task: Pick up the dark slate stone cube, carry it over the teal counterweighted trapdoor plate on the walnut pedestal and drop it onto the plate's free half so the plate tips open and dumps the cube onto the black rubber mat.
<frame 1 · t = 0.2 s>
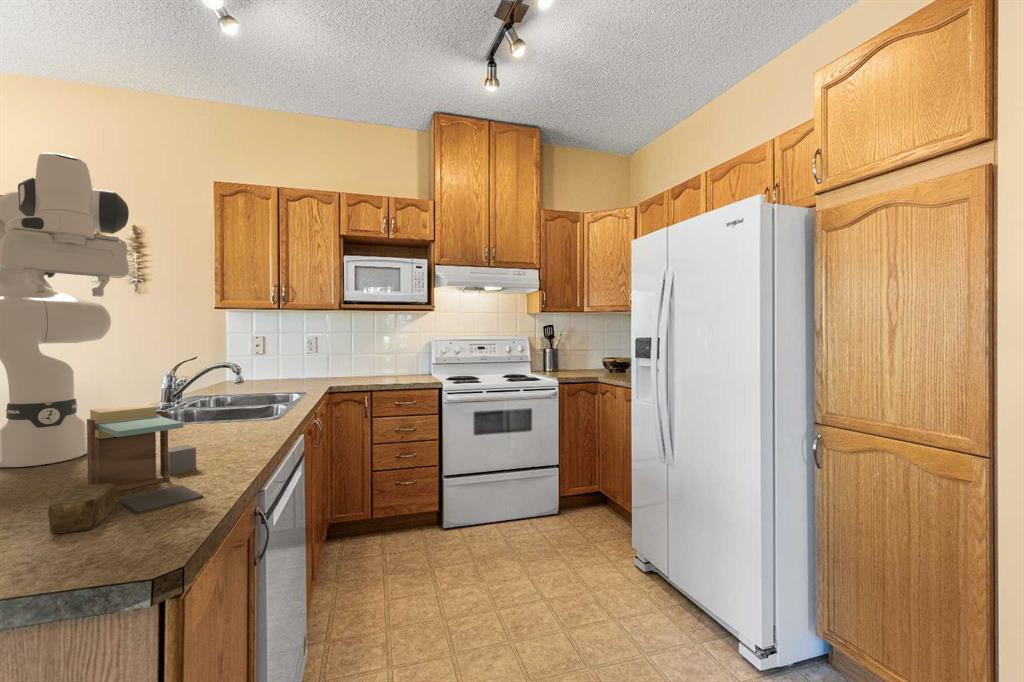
hand: (69, 294, 100), 39 cm above the counter, tool pointing down, fingers open, 8 cm apart
rubber mat: (161, 499, 87), on the counter
stone cube: (178, 470, 106), on the counter
stone block: (84, 522, 77), on the counter
trapdoor: (134, 423, 92), point 13 cm above the counter, hinge at 0.0°
trapdoor frame: (130, 487, 94), on the counter
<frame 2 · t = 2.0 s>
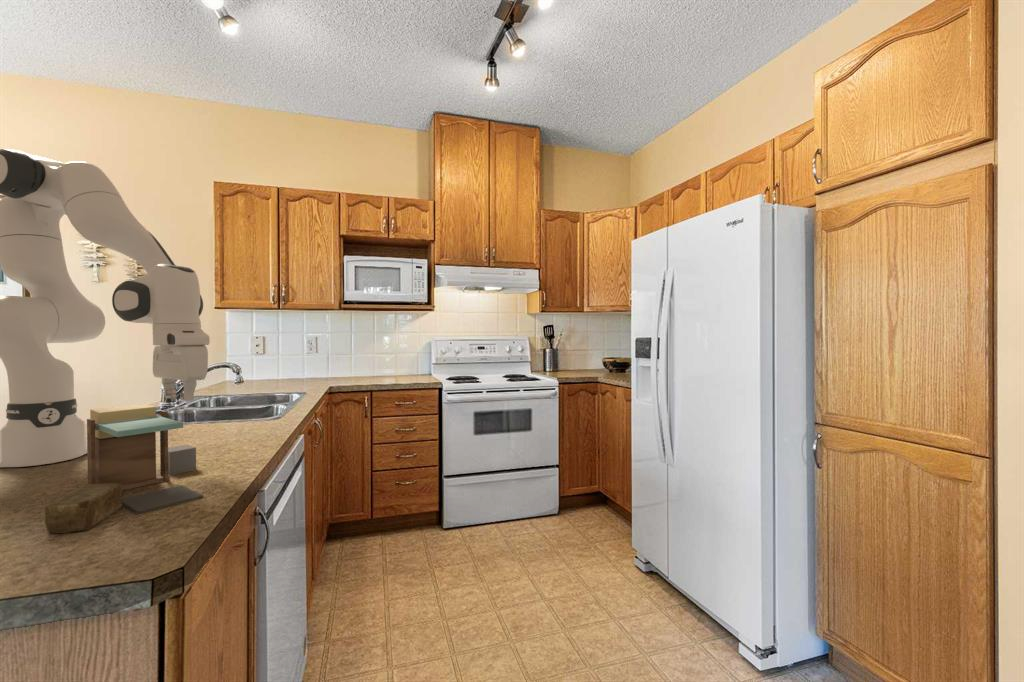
hand: (179, 399, 105), 16 cm above the counter, tool pointing down, fingers open, 8 cm apart
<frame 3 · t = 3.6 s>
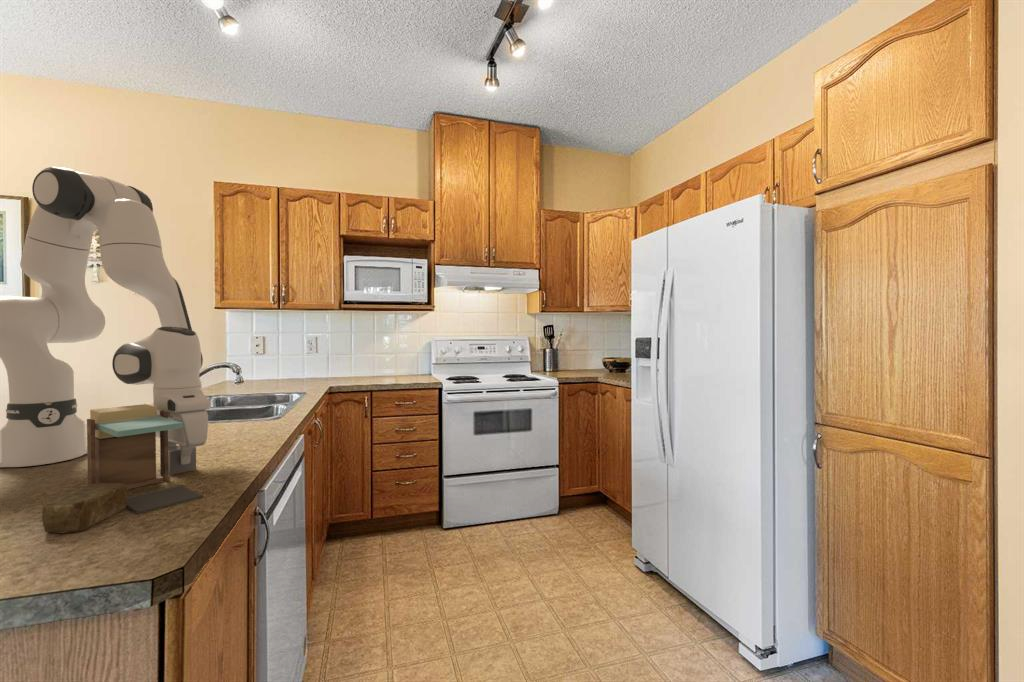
hand: (178, 461, 106), 2 cm above the counter, tool pointing down, fingers closed on stone cube, 5 cm apart
stone cube: (178, 470, 106), on the counter, touching gripper
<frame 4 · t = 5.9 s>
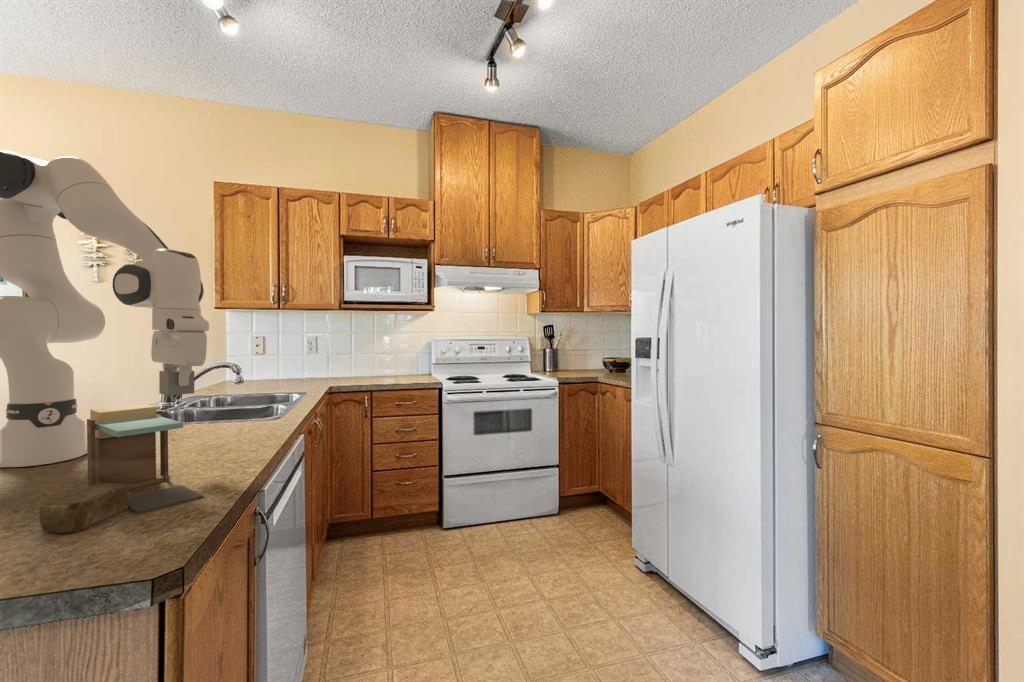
hand: (176, 384, 105), 19 cm above the counter, tool pointing down, fingers closed on stone cube, 5 cm apart
stone cube: (177, 393, 105), point 17 cm above the counter, touching gripper
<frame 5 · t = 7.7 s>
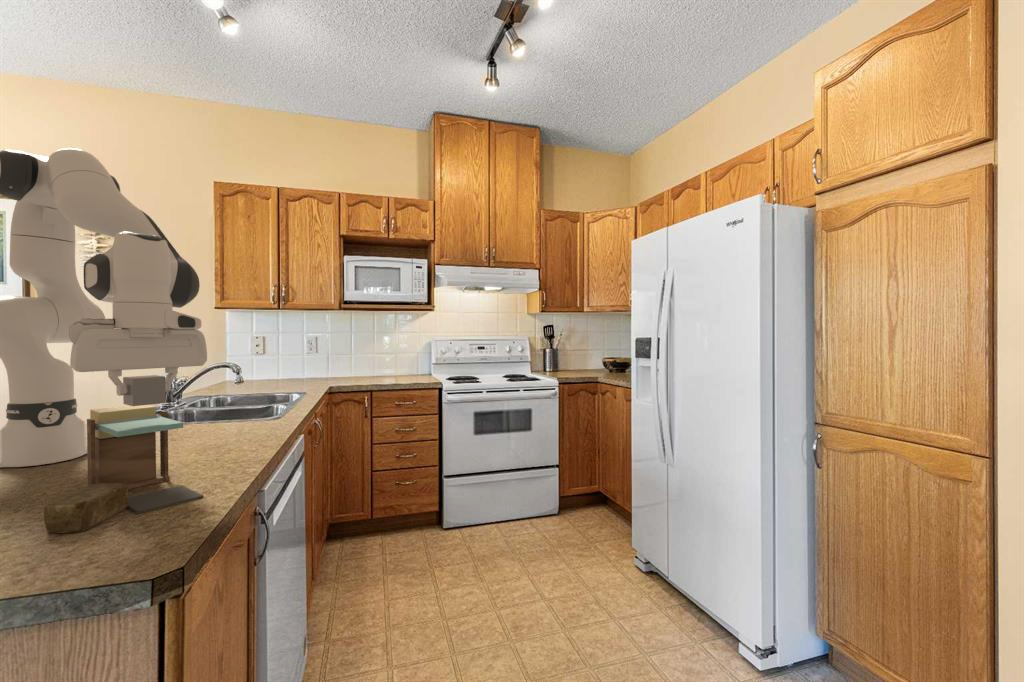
hand: (144, 393, 88), 19 cm above the counter, tool pointing down, fingers closed on stone cube, 5 cm apart
stone cube: (144, 403, 88), point 17 cm above the counter, touching gripper
when the fingers open (19 cm above the counter, at t = 8.1 s): stone cube drops 7 cm, resting on trapdoor.
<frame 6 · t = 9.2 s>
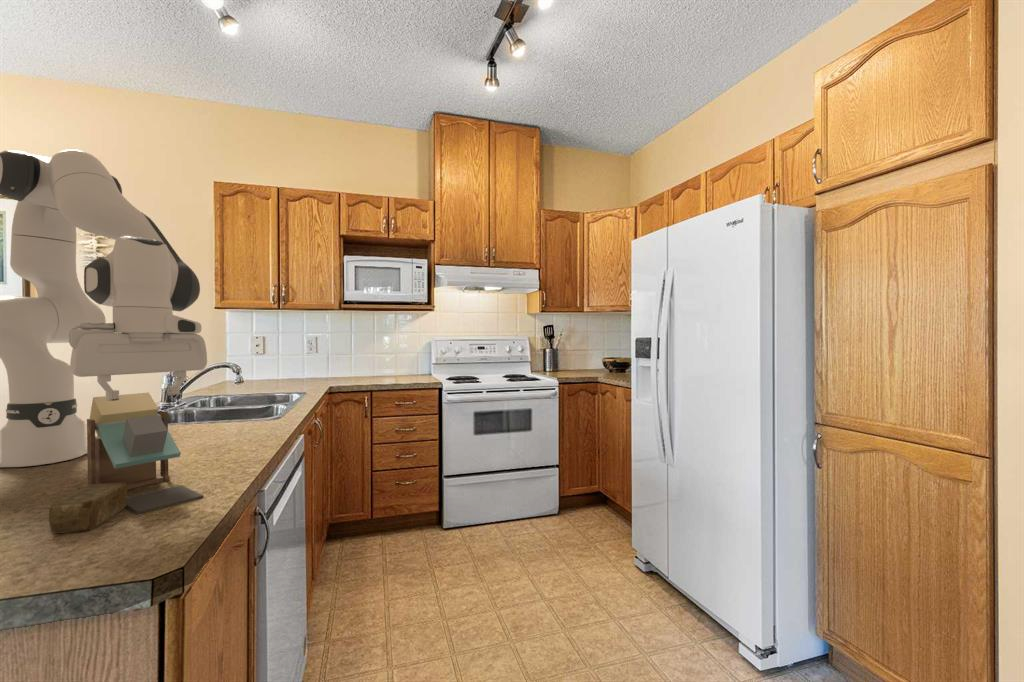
hand: (144, 397, 88), 19 cm above the counter, tool pointing down, fingers open, 8 cm apart
stone cube: (142, 446, 89), point 9 cm above the counter, tilted 30°, touching trapdoor
trapdoor: (133, 431, 92), point 12 cm above the counter, hinge at -29.6°, touching stone cube
everything else where it was.
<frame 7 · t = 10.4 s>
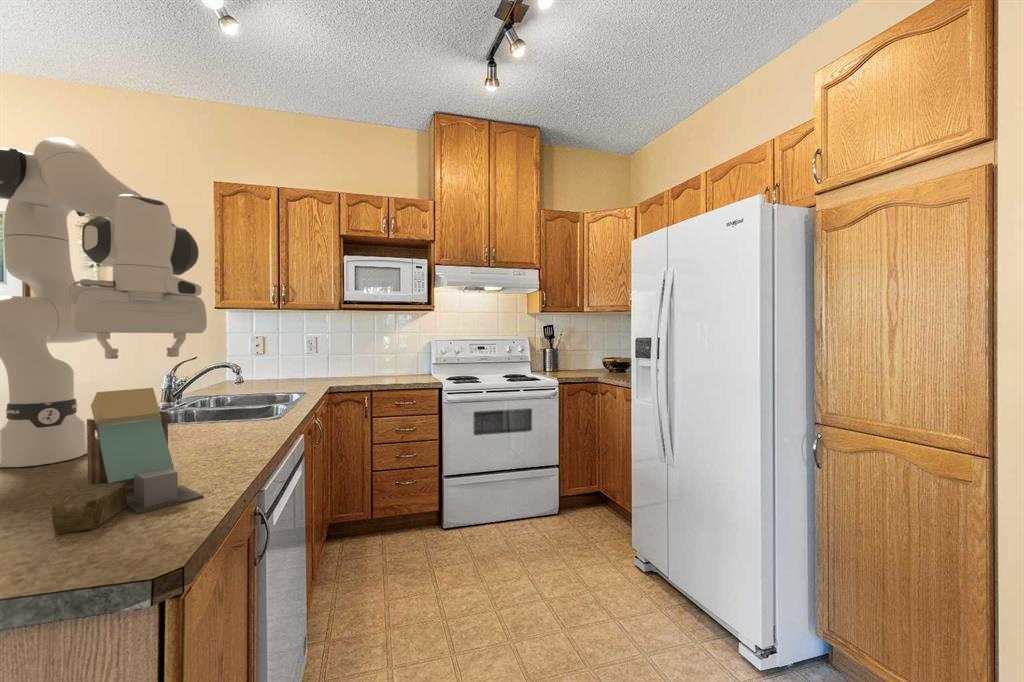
hand: (143, 357, 88), 26 cm above the counter, tool pointing down, fingers open, 8 cm apart
stone cube: (155, 472, 85), point 5 cm above the counter, tilted 180°, touching rubber mat
trapdoor: (132, 435, 92), point 11 cm above the counter, hinge at -53.4°
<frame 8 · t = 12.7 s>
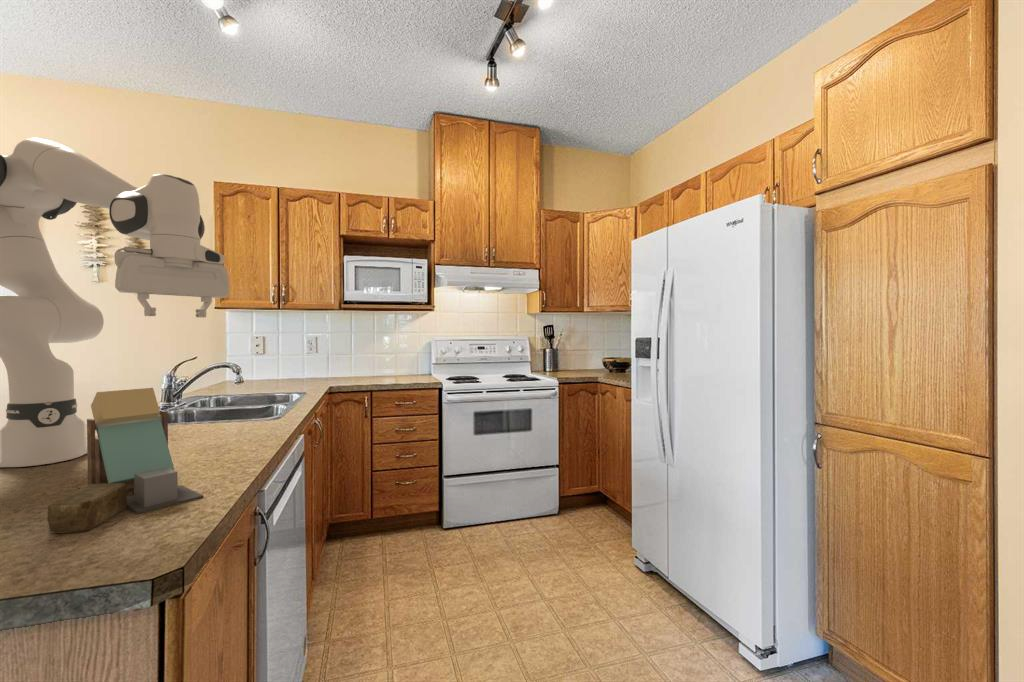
hand: (176, 316, 101), 34 cm above the counter, tool pointing down, fingers open, 8 cm apart
nothing on the counter moved.
at the end: stone cube point 5.4 cm above the counter; stone cube inside the target area (10.6 cm from its centre), point 5.4 cm above the counter; the gripper is holding nothing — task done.
